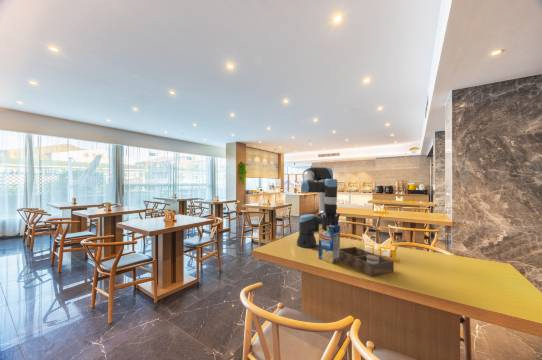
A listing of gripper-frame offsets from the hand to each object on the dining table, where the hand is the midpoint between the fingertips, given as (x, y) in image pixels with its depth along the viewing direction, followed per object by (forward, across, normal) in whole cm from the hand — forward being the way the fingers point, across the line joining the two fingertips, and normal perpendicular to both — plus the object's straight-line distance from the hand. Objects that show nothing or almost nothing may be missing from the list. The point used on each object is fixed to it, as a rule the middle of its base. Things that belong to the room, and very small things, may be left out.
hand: (329, 240), depth 136 cm
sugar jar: (+12, +14, -21) cm, 27 cm away
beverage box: (+12, 0, 0) cm, 12 cm away
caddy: (+12, +14, -14) cm, 23 cm away
